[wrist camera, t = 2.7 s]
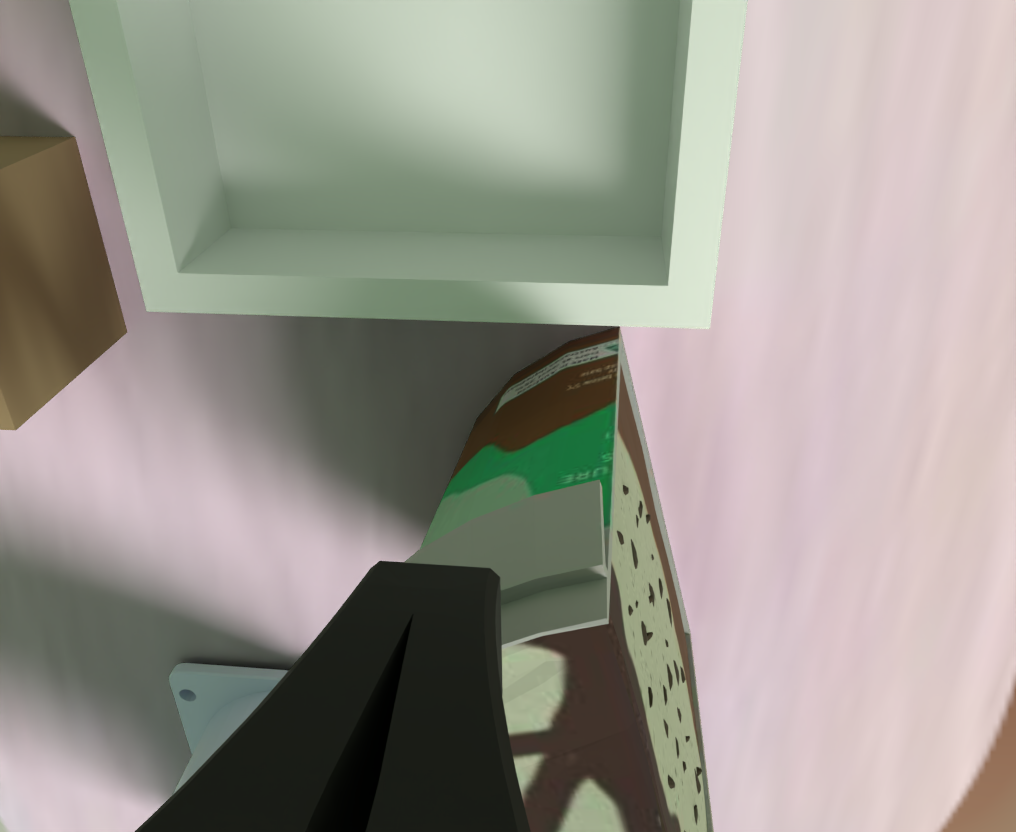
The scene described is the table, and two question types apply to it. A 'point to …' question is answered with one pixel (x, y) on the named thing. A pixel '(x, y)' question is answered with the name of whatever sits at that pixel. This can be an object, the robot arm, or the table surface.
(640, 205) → the counting tray
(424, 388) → the table surface
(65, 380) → the walnut block
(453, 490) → the food container
